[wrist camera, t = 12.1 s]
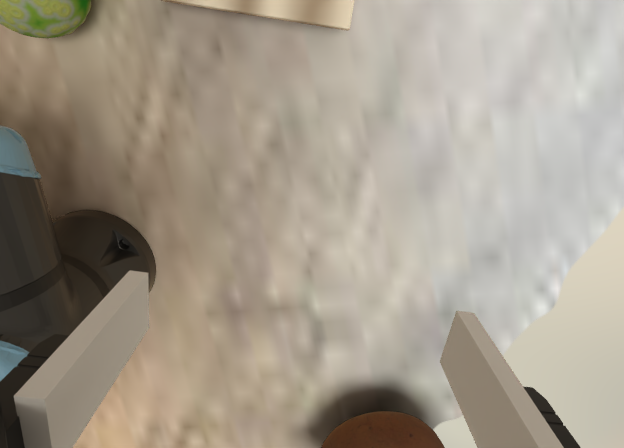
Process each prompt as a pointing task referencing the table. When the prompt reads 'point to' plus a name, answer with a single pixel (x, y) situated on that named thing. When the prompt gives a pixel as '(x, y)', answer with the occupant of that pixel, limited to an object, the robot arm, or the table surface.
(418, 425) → the vase
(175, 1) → the beige piece
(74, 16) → the decorative ball
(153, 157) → the table surface
